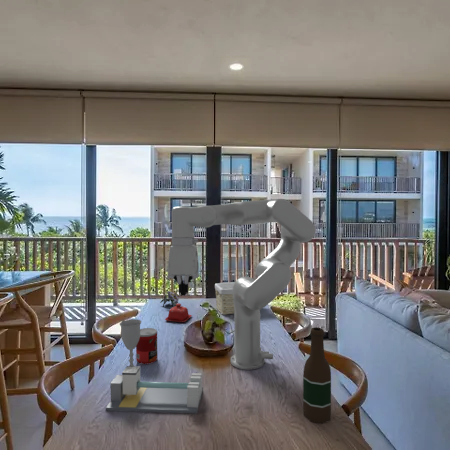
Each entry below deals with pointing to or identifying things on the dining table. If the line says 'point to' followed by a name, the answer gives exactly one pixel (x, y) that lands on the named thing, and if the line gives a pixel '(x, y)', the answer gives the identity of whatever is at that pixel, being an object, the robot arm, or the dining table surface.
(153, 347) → the canned food
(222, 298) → the storage basket
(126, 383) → the sleeve
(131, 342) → the chalice
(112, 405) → the cable rig
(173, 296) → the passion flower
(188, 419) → the dining table surface
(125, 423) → the dining table surface
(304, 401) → the beer bottle
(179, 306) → the butter dish
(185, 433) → the dining table surface
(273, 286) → the robot arm
